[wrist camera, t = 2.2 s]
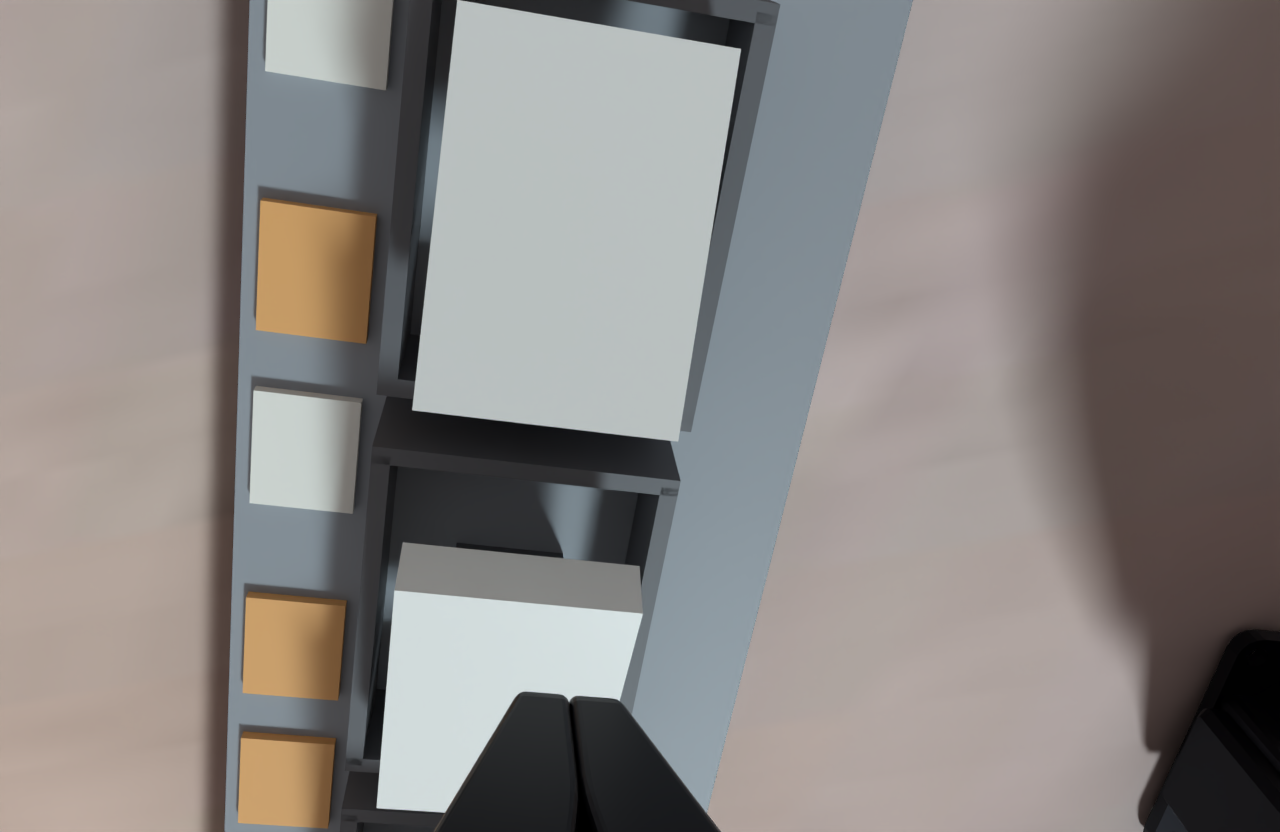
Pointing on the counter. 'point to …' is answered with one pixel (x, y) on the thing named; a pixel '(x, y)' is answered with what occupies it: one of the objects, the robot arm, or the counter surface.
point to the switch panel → (499, 450)
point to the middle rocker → (491, 655)
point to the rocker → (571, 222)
